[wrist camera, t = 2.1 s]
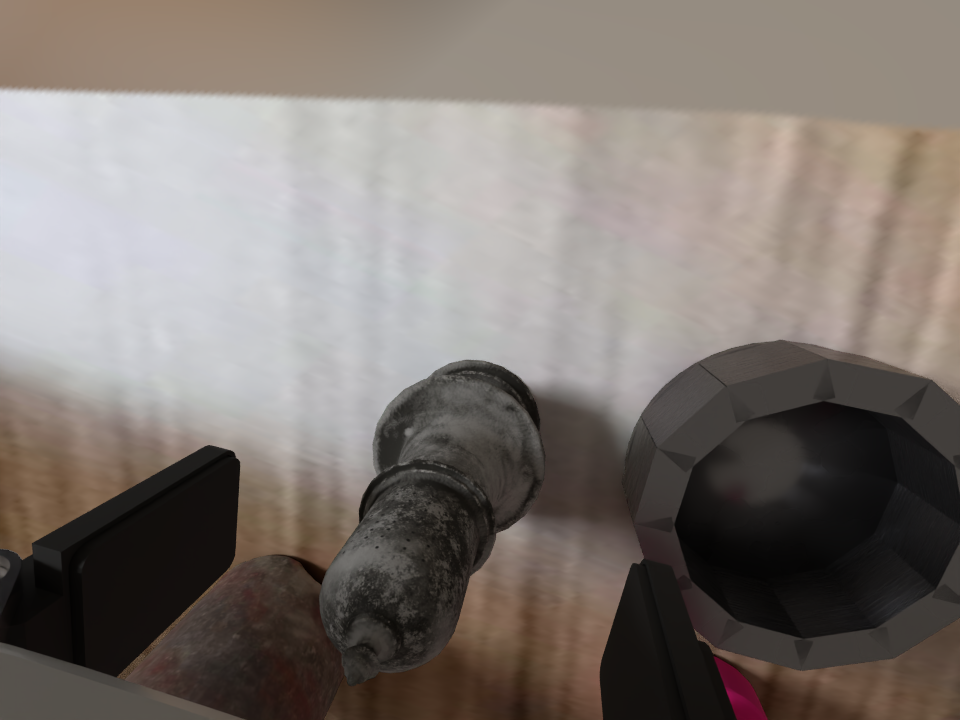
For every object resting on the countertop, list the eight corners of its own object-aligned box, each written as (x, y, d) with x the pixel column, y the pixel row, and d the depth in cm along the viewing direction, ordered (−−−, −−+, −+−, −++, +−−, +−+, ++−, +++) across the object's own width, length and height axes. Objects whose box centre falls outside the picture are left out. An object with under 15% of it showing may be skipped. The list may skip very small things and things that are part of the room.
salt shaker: (568, 466, 19) (585, 802, 8) (436, 505, 20) (280, 839, 9) (516, 331, 18) (445, 475, 7) (382, 380, 19) (127, 571, 8)
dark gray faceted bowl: (663, 612, 20) (684, 686, 16) (592, 387, 18) (600, 419, 15) (942, 564, 18) (1034, 639, 14) (891, 302, 16) (981, 317, 13)
